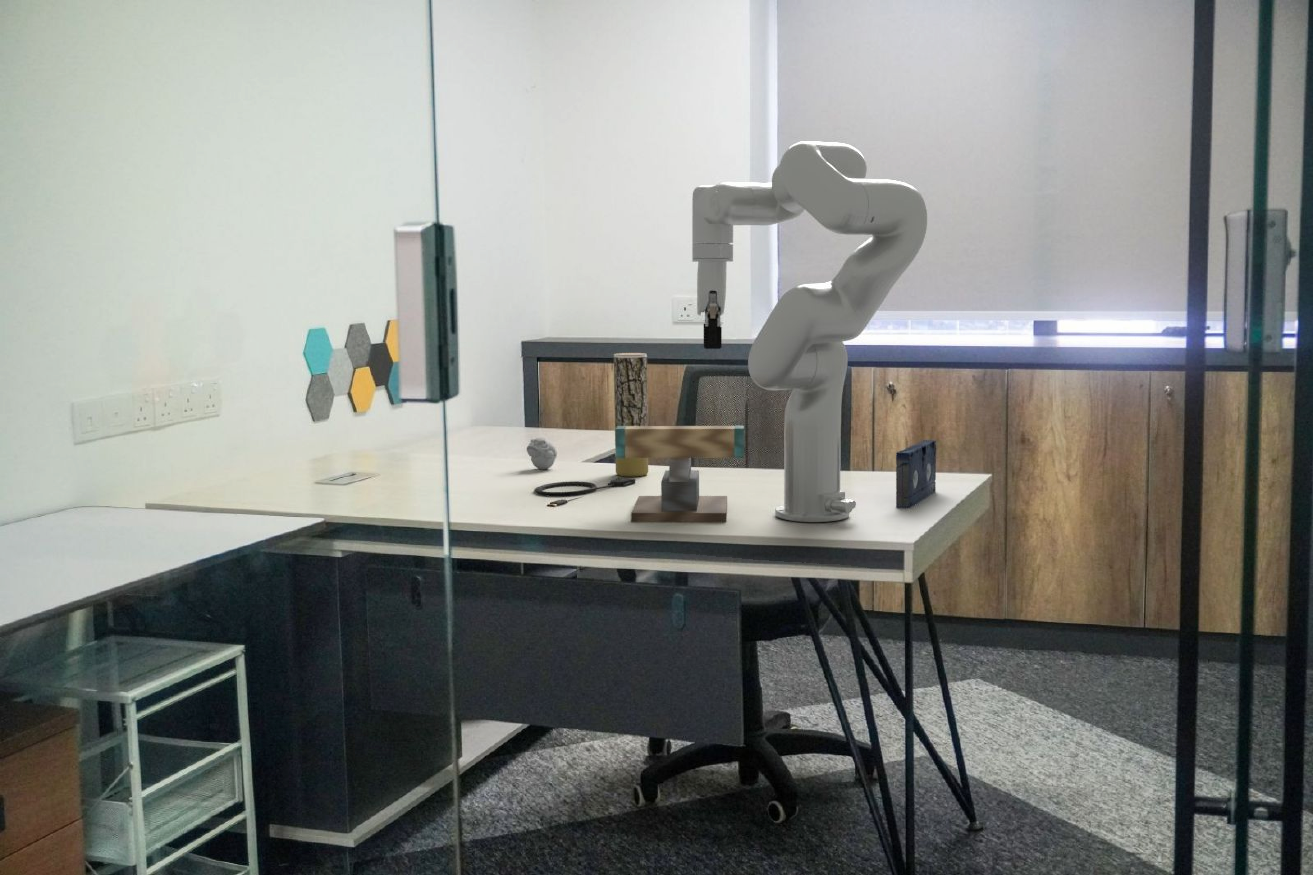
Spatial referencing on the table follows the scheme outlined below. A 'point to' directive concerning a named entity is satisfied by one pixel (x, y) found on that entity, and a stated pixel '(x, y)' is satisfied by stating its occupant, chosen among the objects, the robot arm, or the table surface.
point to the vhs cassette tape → (915, 473)
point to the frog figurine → (542, 453)
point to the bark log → (630, 405)
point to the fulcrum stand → (680, 499)
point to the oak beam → (680, 442)
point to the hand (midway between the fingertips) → (712, 346)
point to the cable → (614, 483)
